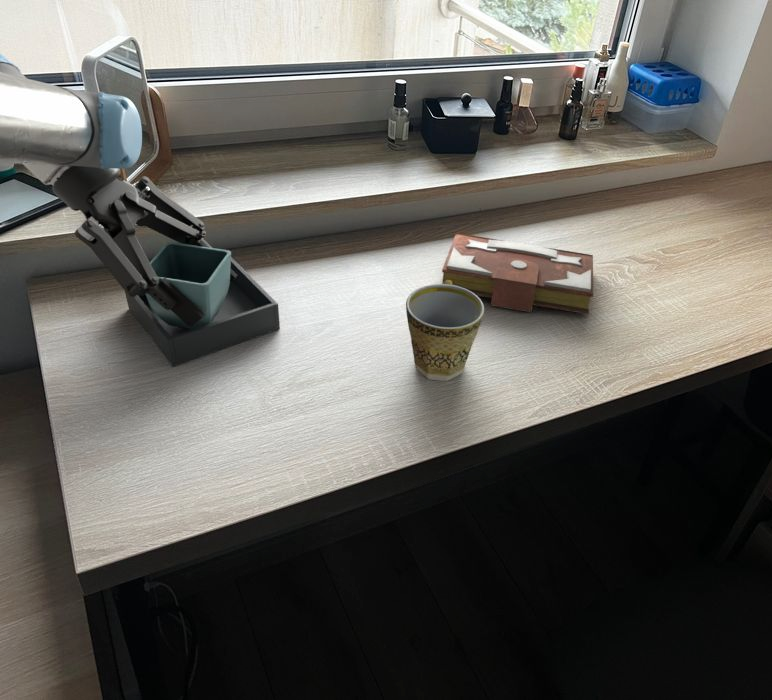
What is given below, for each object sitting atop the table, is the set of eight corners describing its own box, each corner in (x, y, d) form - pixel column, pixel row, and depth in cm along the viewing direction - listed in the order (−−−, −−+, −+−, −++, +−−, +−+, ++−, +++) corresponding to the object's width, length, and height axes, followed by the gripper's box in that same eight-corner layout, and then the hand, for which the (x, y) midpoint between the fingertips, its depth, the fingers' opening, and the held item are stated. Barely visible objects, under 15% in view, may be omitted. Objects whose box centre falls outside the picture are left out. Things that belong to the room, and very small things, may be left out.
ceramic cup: (474, 393, 94) (483, 332, 88) (398, 385, 94) (401, 324, 88) (478, 334, 105) (485, 275, 98) (409, 326, 104) (412, 268, 98)
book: (588, 276, 122) (594, 249, 119) (588, 321, 109) (595, 292, 106) (454, 254, 123) (457, 226, 120) (438, 296, 110) (441, 267, 107)
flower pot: (238, 305, 101) (232, 249, 96) (215, 342, 94) (207, 285, 89) (176, 296, 101) (167, 240, 96) (149, 333, 95) (136, 275, 89)
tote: (172, 367, 93) (167, 340, 90) (128, 308, 101) (122, 283, 99) (280, 329, 101) (278, 303, 98) (231, 278, 110) (228, 253, 107)
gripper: (28, 188, 76) (191, 335, 85) (138, 118, 93) (264, 246, 102) (-3, 224, 80) (156, 362, 89) (108, 150, 97) (232, 271, 106)
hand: (214, 300), depth 95 cm, fingers closed on flower pot, 9 cm apart
